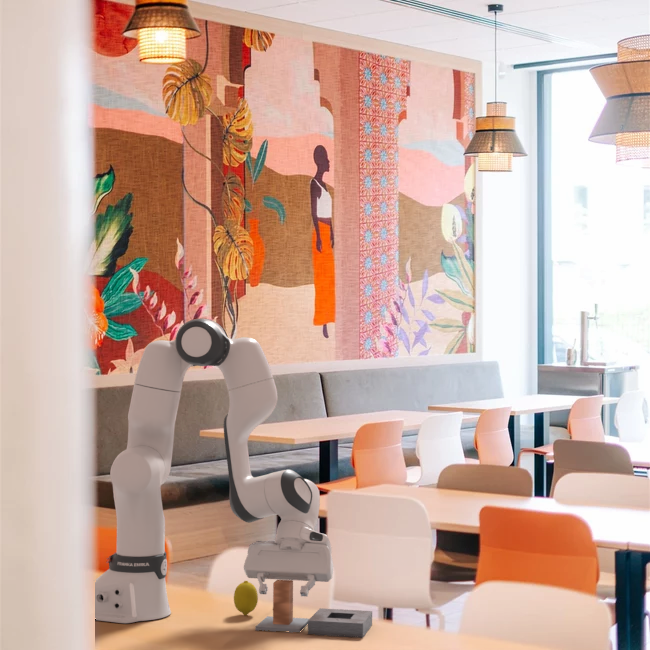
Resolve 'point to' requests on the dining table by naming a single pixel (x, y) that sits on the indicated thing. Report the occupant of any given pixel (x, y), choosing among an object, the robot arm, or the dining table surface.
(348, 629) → the collar block
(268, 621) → the mat
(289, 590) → the peg
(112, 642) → the dining table surface
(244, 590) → the lemon
